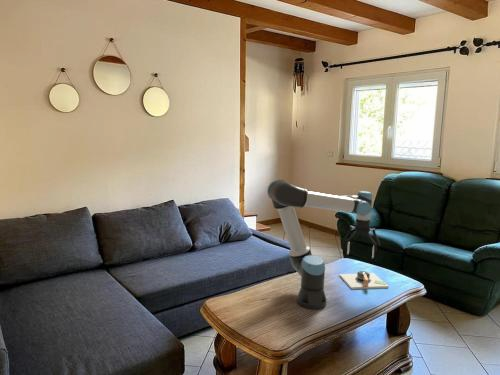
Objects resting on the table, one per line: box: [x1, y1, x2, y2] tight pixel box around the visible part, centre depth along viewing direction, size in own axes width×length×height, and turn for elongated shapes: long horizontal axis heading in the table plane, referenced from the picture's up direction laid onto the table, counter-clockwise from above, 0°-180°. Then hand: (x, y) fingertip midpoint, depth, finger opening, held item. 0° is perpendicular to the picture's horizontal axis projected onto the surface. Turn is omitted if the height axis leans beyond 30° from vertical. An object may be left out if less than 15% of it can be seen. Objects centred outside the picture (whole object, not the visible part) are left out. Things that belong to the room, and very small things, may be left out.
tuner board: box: [338, 272, 390, 290], centre depth 215 cm, size 23×19×1 cm
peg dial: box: [356, 270, 370, 288], centre depth 210 cm, size 16×7×4 cm, turn 172°
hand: (360, 255), depth 205 cm, fingers open, 13 cm apart
